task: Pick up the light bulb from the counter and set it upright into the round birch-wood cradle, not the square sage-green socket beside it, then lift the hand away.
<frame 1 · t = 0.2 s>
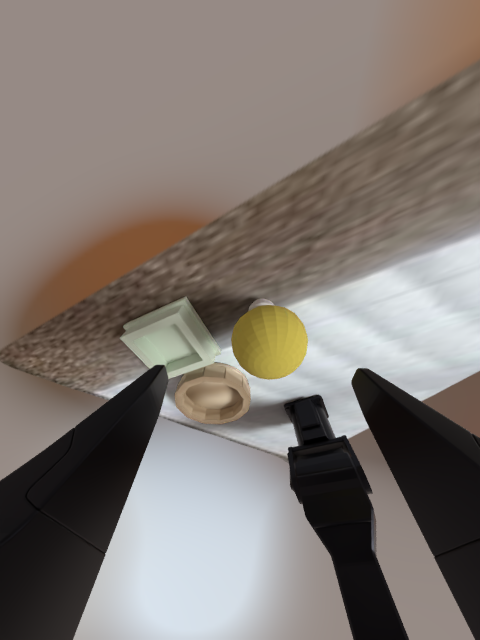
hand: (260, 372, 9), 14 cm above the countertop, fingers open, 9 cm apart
light bulb: (260, 306, 22), on the countertop
square socket: (175, 337, 25), on the countertop
round cradle: (214, 387, 30), on the countertop
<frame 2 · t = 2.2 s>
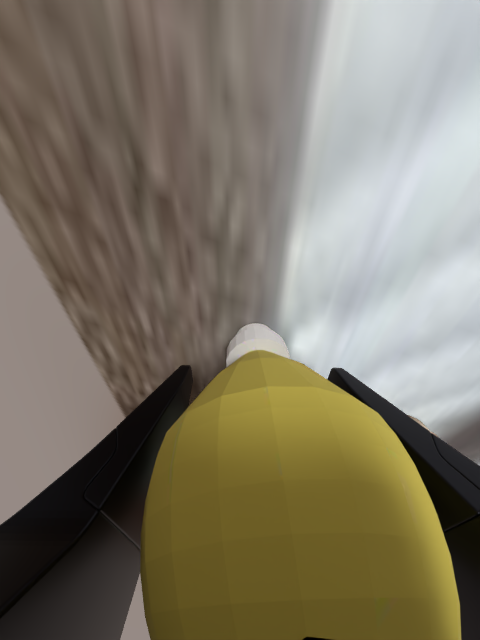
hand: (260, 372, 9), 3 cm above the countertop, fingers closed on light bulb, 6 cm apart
light bulb: (254, 338, 11), on the countertop, touching gripper
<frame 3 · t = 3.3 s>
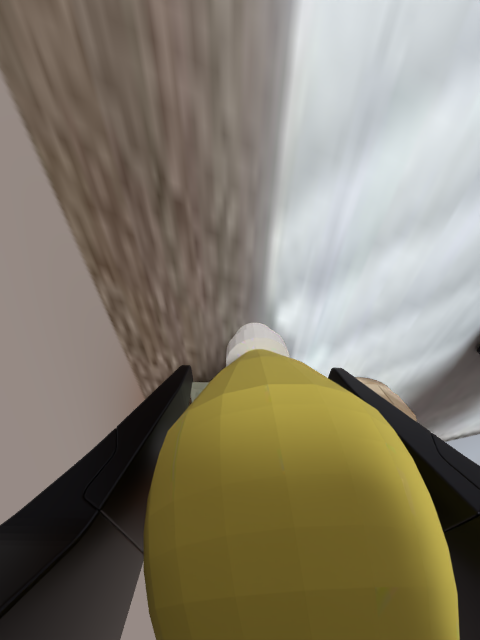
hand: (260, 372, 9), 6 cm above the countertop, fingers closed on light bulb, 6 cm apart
light bulb: (253, 337, 11), point 3 cm above the countertop, touching gripper
round cradle: (339, 413, 20), on the countertop
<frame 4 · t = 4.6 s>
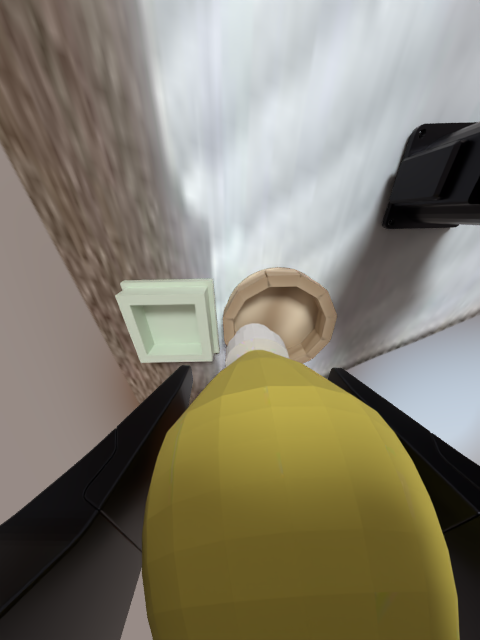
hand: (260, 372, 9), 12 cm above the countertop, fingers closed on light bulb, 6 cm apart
light bulb: (253, 338, 11), point 9 cm above the countertop, touching gripper
square socket: (177, 318, 21), on the countertop
round cradle: (273, 316, 21), on the countertop
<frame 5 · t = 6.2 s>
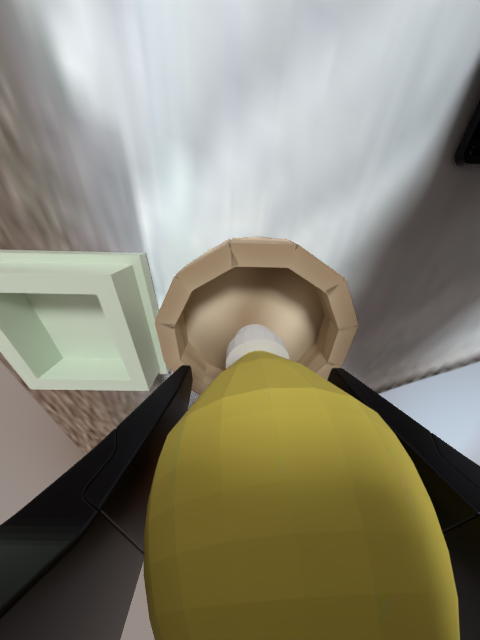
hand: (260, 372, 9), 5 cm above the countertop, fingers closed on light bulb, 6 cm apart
light bulb: (253, 338, 11), point 2 cm above the countertop, touching gripper
square socket: (96, 318, 13), on the countertop
round cradle: (252, 321, 13), on the countertop
when the fingers open (4 cm above the countertop, at t = 7.2 s): light bulb stays where it is, resting on round cradle.
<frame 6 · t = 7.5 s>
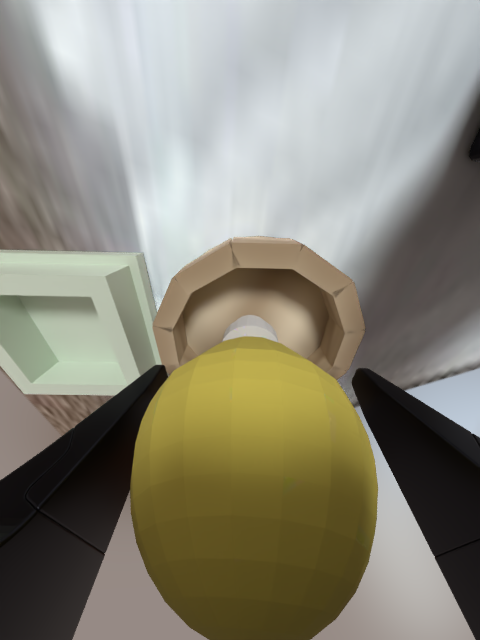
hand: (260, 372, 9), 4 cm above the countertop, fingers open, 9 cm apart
light bulb: (250, 329, 12), point 1 cm above the countertop, touching round cradle
square socket: (92, 320, 12), on the countertop
round cradle: (254, 323, 13), on the countertop
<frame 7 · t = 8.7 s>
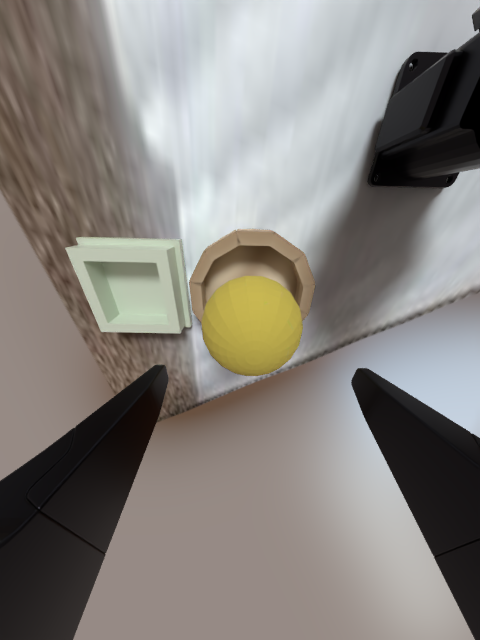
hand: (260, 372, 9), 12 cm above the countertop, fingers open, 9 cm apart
light bulb: (247, 289, 19), point 1 cm above the countertop, touching round cradle
square socket: (144, 285, 19), on the countertop
round cradle: (250, 287, 19), on the countertop
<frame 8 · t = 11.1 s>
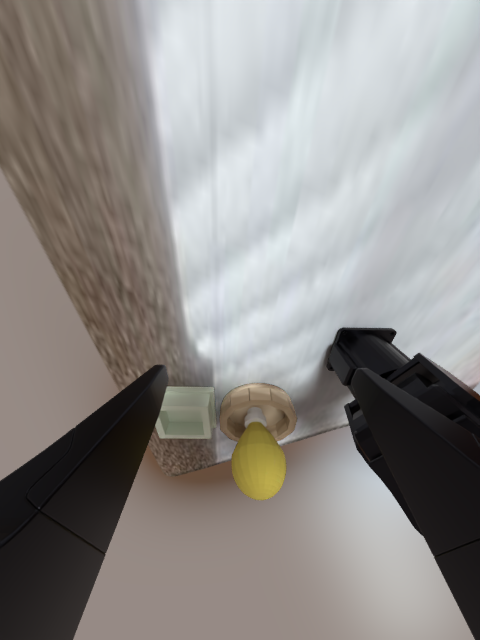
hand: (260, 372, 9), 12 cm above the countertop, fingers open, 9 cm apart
light bulb: (254, 410, 29), point 1 cm above the countertop, touching round cradle
square socket: (186, 406, 29), on the countertop
round cradle: (256, 407, 29), on the countertop
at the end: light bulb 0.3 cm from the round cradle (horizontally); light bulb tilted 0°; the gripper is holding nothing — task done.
